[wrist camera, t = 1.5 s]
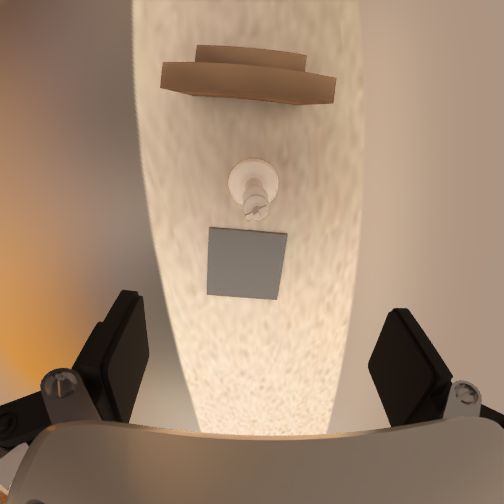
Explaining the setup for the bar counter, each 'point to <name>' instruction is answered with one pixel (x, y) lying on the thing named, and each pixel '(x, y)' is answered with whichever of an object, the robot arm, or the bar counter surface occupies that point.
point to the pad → (245, 263)
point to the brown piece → (248, 76)
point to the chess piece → (253, 187)
